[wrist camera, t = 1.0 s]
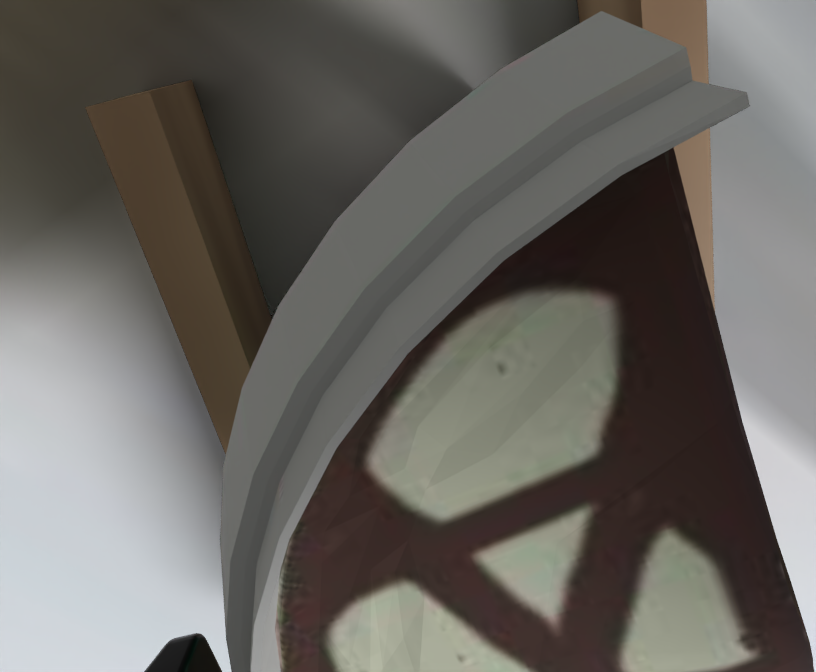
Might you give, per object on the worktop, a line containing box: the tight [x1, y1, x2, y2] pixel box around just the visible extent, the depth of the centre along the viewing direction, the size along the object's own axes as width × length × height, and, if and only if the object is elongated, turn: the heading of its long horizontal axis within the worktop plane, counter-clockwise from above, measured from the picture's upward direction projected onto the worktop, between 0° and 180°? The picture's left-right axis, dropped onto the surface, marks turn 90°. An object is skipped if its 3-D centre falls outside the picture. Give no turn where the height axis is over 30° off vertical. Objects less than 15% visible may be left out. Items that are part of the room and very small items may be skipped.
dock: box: [85, 0, 715, 454], centre depth 14 cm, size 10×14×3 cm, turn 12°
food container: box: [220, 11, 814, 672], centre depth 11 cm, size 12×6×10 cm, turn 23°
